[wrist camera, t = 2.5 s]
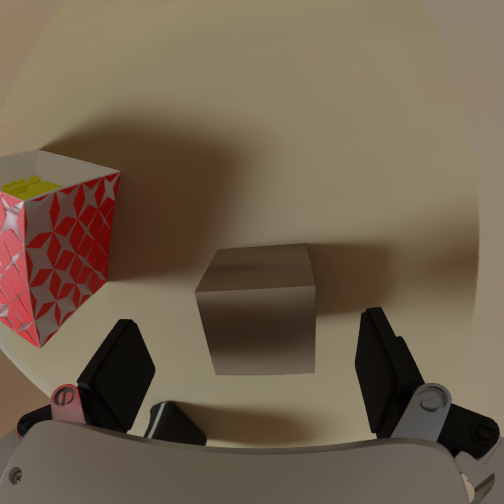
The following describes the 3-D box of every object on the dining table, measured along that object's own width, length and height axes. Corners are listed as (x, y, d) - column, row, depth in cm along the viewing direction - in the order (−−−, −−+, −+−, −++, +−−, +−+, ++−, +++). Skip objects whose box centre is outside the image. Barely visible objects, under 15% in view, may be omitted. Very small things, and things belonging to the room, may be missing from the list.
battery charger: (141, 401, 23) (98, 496, 12) (171, 398, 22) (130, 506, 12) (181, 439, 25) (154, 525, 14) (210, 437, 24) (188, 532, 14)
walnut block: (307, 316, 18) (314, 372, 13) (230, 320, 18) (215, 375, 14) (305, 242, 16) (315, 285, 11) (218, 249, 16) (194, 291, 12)
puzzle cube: (121, 170, 15) (24, 201, 8) (107, 281, 18) (40, 349, 11) (38, 149, 15) (-48, 169, 8) (33, 246, 18) (-35, 290, 11)
